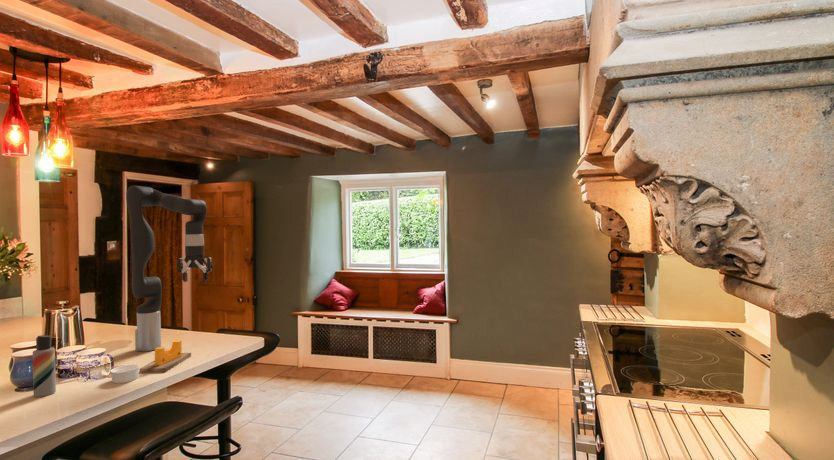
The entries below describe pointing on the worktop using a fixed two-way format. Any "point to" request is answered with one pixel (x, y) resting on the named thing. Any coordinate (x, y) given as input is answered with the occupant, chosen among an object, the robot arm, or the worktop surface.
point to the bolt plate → (164, 367)
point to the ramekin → (124, 373)
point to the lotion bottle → (44, 367)
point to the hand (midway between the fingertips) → (195, 281)
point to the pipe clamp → (167, 353)
